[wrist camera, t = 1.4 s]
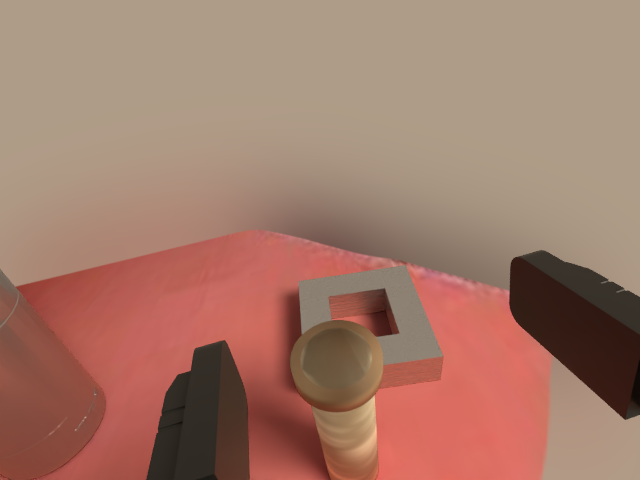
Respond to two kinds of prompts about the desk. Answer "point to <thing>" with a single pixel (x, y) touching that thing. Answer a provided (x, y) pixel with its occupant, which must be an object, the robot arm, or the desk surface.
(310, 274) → the desk surface
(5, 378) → the robot arm
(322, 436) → the wooden pin
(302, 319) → the socket block
